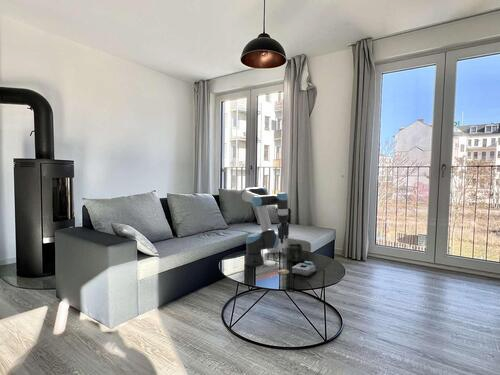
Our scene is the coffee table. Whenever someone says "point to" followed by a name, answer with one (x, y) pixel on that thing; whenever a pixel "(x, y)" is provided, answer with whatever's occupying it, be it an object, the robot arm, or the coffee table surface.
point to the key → (284, 245)
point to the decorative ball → (276, 247)
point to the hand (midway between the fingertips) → (284, 246)
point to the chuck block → (304, 268)
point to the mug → (295, 252)
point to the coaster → (283, 271)
